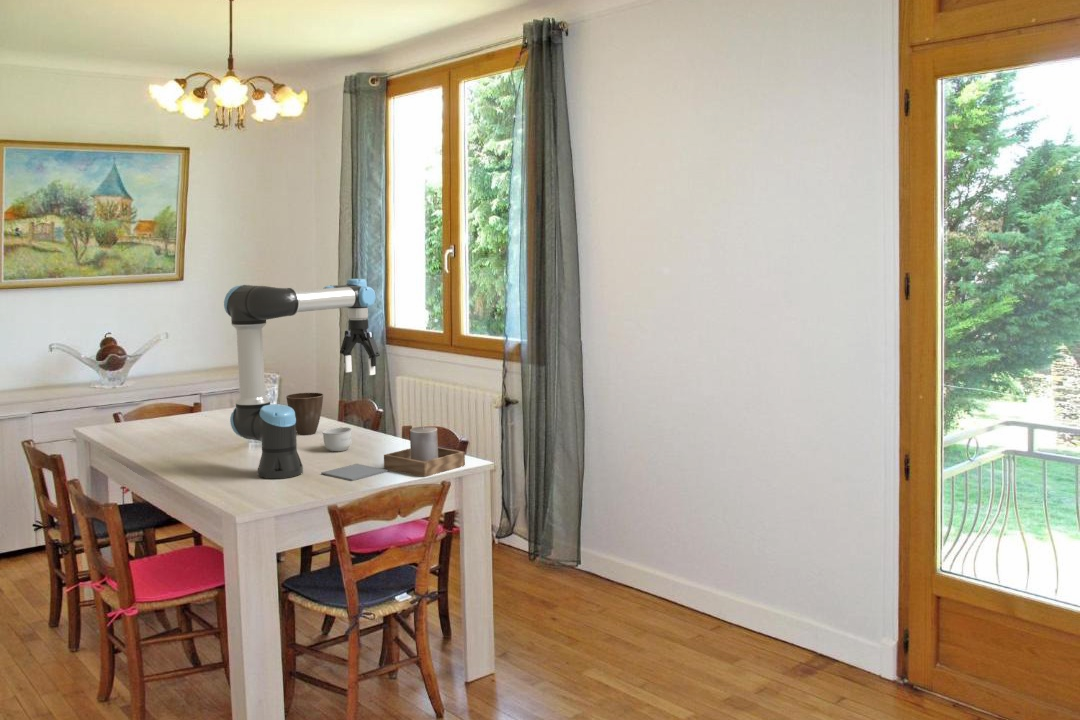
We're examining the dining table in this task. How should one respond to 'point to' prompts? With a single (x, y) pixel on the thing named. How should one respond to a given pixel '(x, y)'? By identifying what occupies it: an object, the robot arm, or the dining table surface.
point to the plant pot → (306, 411)
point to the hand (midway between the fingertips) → (360, 373)
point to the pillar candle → (424, 443)
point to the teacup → (337, 438)
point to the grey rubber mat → (354, 472)
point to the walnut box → (405, 464)
